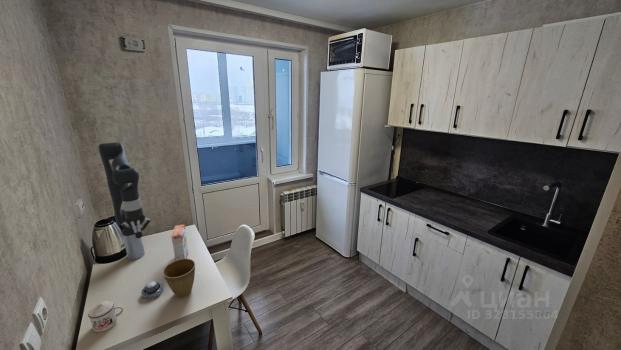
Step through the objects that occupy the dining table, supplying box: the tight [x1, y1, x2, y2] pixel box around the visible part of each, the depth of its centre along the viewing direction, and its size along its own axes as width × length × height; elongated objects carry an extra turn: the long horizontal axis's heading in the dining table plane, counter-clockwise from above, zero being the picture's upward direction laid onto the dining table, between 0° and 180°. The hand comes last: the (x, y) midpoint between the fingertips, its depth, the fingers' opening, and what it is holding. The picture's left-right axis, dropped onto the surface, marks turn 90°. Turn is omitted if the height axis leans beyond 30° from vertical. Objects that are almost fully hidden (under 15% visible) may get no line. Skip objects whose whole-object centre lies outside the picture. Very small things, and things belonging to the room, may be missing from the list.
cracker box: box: [171, 224, 189, 261], centre depth 159 cm, size 14×6×21 cm, turn 19°
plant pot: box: [162, 258, 196, 299], centre depth 132 cm, size 15×15×16 cm
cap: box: [144, 280, 159, 294], centre depth 133 cm, size 6×6×5 cm
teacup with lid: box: [87, 300, 124, 333], centre depth 114 cm, size 12×9×12 cm
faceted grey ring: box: [141, 281, 164, 300], centre depth 134 cm, size 10×10×3 cm
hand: (139, 237), depth 132 cm, fingers closed
